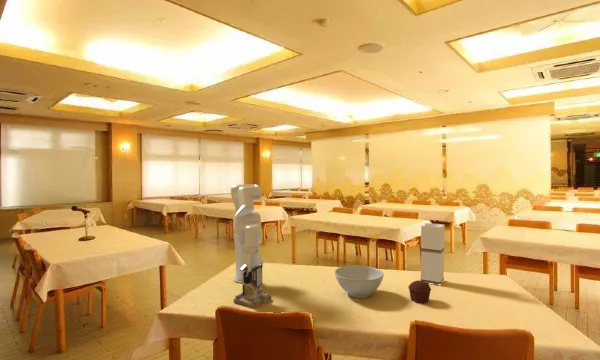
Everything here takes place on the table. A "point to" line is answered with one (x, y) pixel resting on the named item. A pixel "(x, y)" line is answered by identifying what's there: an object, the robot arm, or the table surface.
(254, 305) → the stand
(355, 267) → the decorative bowl
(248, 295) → the coffee box
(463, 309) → the table surface
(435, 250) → the mini fridge
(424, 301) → the muffin
